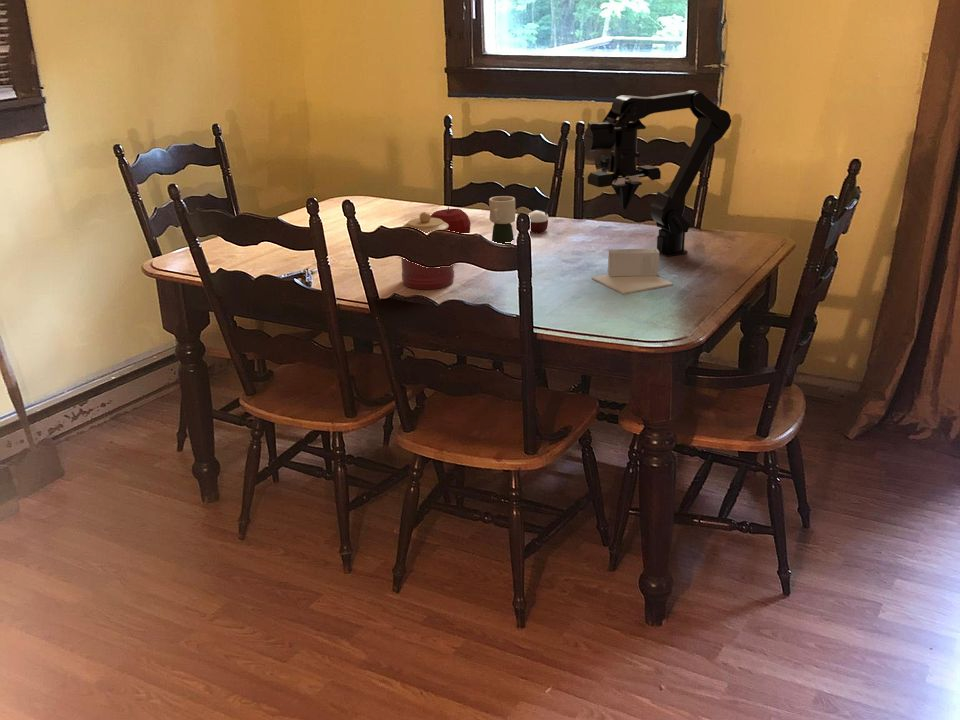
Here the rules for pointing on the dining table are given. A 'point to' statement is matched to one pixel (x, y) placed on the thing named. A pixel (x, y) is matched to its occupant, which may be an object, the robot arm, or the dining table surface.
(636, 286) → the mat
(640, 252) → the skincare box
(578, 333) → the dining table surface
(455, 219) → the apple
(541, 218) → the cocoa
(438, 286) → the canister
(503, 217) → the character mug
